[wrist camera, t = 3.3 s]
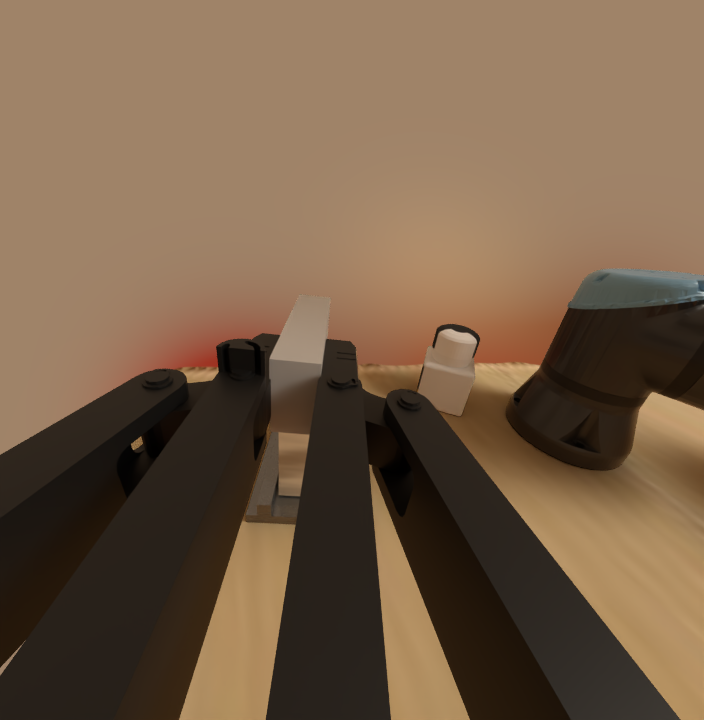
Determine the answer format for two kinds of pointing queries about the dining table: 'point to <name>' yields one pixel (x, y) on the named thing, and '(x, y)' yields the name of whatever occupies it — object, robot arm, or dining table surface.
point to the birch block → (292, 461)
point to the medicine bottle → (449, 368)
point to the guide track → (271, 491)
